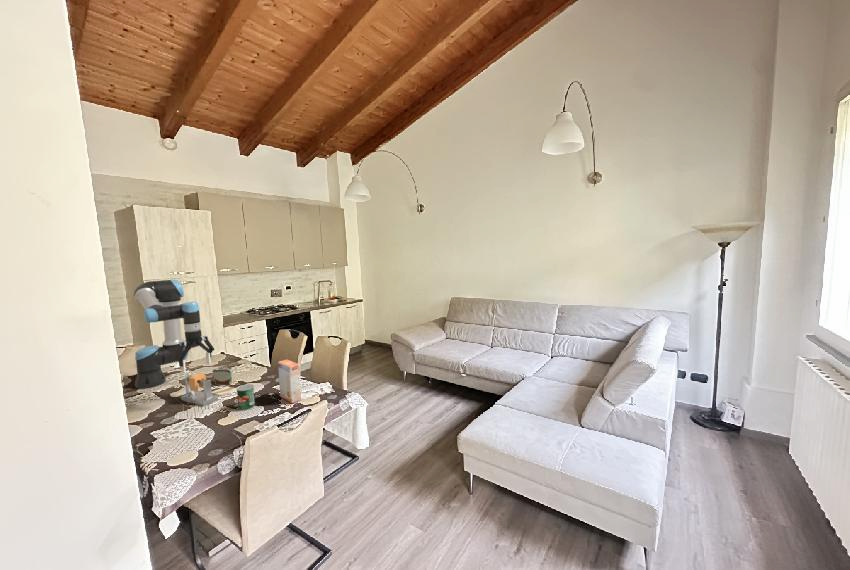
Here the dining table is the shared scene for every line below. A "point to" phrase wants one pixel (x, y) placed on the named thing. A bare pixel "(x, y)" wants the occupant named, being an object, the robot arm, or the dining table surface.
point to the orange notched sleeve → (194, 381)
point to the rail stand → (199, 393)
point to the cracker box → (289, 381)
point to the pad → (223, 391)
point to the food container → (223, 375)
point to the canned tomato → (245, 397)
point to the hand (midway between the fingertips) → (196, 367)
